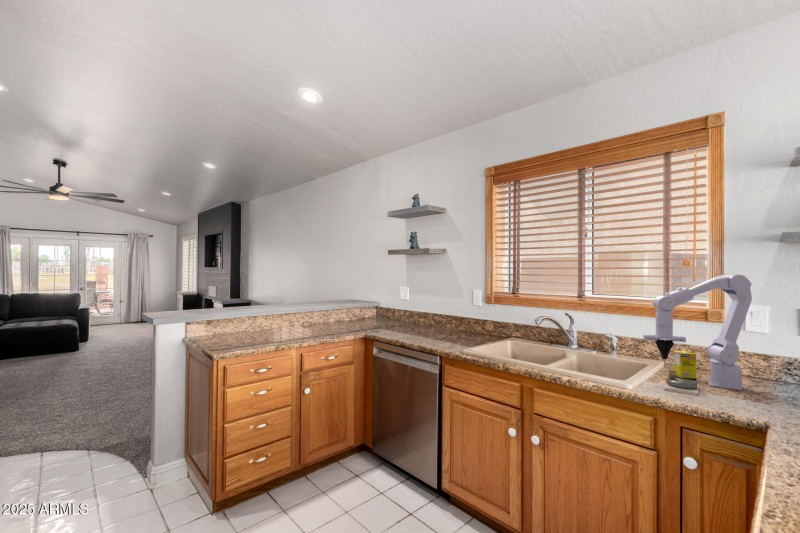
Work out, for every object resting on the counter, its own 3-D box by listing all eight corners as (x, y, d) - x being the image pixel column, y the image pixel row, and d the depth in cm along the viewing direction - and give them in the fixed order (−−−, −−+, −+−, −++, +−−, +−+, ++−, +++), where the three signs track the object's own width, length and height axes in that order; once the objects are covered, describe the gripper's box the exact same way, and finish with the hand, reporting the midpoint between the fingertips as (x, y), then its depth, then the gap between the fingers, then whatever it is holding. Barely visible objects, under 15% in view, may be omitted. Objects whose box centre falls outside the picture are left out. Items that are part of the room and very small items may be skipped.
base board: (698, 387, 146) (698, 384, 146) (697, 395, 136) (697, 392, 136) (667, 382, 152) (667, 379, 152) (664, 389, 142) (664, 386, 142)
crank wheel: (704, 388, 141) (704, 375, 141) (684, 389, 138) (684, 377, 138) (679, 380, 150) (679, 368, 150) (659, 382, 148) (659, 370, 148)
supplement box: (696, 380, 155) (696, 353, 155) (680, 379, 156) (680, 353, 156) (688, 376, 161) (688, 350, 161) (673, 375, 162) (673, 350, 162)
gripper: (647, 326, 151) (647, 359, 151) (689, 327, 147) (689, 362, 147) (641, 323, 158) (641, 356, 157) (681, 325, 154) (681, 358, 154)
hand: (664, 358), depth 153 cm, fingers closed
